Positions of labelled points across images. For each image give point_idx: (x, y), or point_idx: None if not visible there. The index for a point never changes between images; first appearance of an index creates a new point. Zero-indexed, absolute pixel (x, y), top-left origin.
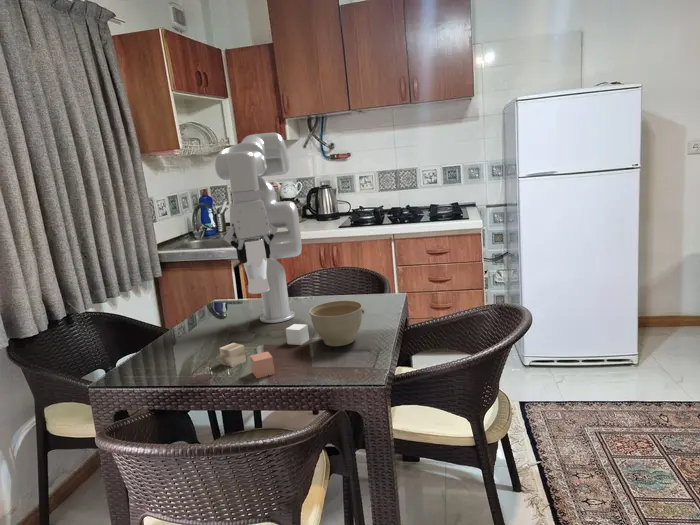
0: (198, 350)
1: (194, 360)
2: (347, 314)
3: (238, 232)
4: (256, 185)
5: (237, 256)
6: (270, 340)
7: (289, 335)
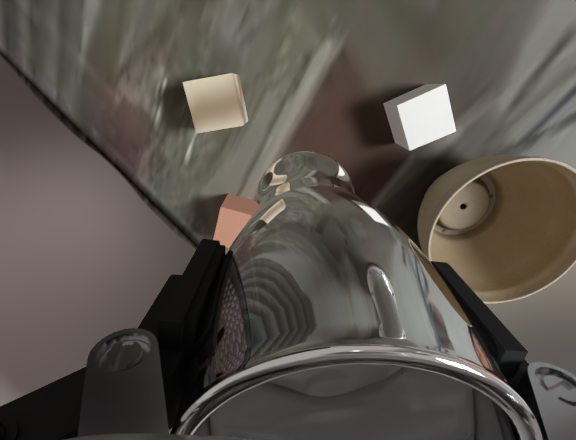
0: None
1: None
2: None
3: None
4: None
5: (162, 290)
6: (377, 27)
7: (393, 115)
